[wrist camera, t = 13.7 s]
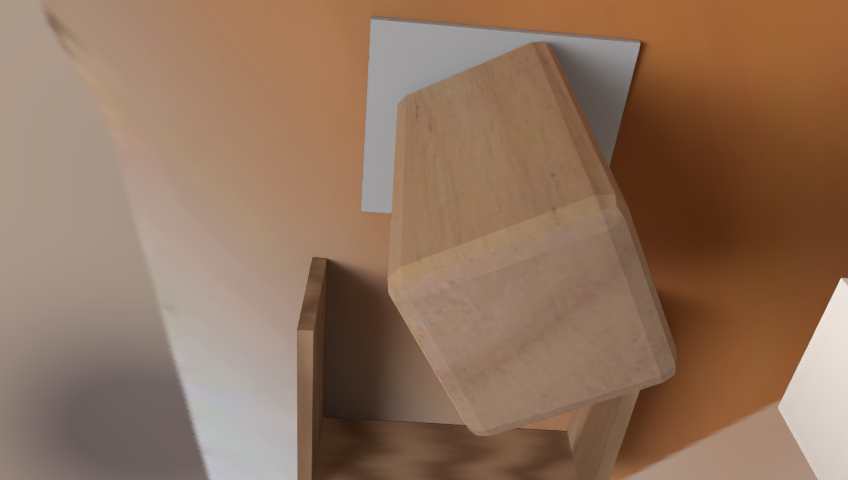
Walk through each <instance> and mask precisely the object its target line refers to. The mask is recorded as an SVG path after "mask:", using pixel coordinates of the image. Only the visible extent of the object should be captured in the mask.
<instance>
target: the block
mask: <svg viewBox="0 0 848 480" xmlns="http://www.w3.org/2000/svg"><path fill="white" fill-rule="evenodd" d="M388 293H389V295H390V297H391V299H392V300H393V302H394V304H395V306H396V307H397V309H398V311H399V312H400V314H401V316H402V317H403V319H404V321H405V323H406V324H407V326H408V328H409V329H410V331H411V333H412V334H413V336H414V338H415V340H416V341H417V343H418V345H419V346H420V348H421V350H422V352H423V353H424V355H425V357H426V358H427V360H428V362H429V363H430V365H431V367H432V369H433V370H434V372H435V374H436V375H437V377H438V379H439V380H440V382H441V384H442V386H443V387H444V389H445V391H446V392H447V394H448V396H449V398H450V399H451V401H452V403H453V404H454V406H455V408H456V409H457V411H458V413H459V415H460V416H461V418H462V420H463V421H464V423H465V424H466V426H467V427H468V428H469V430H470V431H471V432H473V433H474V434H476V435H477V436H491V435H495V434H498V433H501V432H504V431H508V430H511V429H514V428H517V427H521V426H524V425H527V424H530V423H534V422H537V421H540V420H543V419H547V418H550V417H553V416H556V415H560V414H563V413H566V412H569V411H573V410H576V409H579V408H582V407H586V406H589V405H592V404H595V403H599V402H602V401H605V400H608V399H612V398H615V397H618V396H621V395H625V394H628V393H631V392H634V391H638V390H641V389H644V388H647V387H651V386H654V385H657V384H660V383H664V382H665V381H666V380H668V379H669V378H671V377H672V376H673V375H675V370H676V362H677V354H678V352H677V349H676V347H675V344H674V341H673V338H672V335H671V332H670V329H669V326H668V323H667V320H666V317H665V314H664V311H663V308H662V305H661V302H660V299H659V296H658V293H657V290H656V287H655V284H654V281H653V279H652V276H651V273H650V270H649V267H648V264H647V261H646V258H645V255H644V252H643V249H642V246H641V243H640V240H639V237H638V234H637V231H636V228H635V225H634V222H633V219H632V216H631V214H630V211H629V208H628V205H627V203H626V201H625V199H624V197H623V195H622V193H621V191H620V188H619V186H618V184H617V182H616V180H615V178H614V176H613V174H612V172H611V169H610V167H609V165H608V163H607V161H606V159H605V157H604V155H603V153H602V151H601V148H600V146H599V144H598V142H597V140H596V138H595V136H594V134H593V132H592V130H591V127H590V125H589V123H588V121H587V119H586V117H585V115H584V113H583V111H582V109H581V106H580V104H579V102H578V100H577V98H576V96H575V94H574V92H573V90H572V87H571V85H570V83H569V81H568V79H567V77H566V75H565V73H564V71H563V69H562V66H561V64H560V62H559V60H558V58H557V56H556V54H555V52H554V50H553V49H552V48H551V47H550V46H549V45H548V44H547V43H546V42H531V43H529V44H526V45H524V46H522V47H519V48H517V49H515V50H512V51H510V52H508V53H505V54H503V55H500V56H498V57H496V58H493V59H491V60H489V61H486V62H484V63H482V64H479V65H477V66H475V67H472V68H470V69H467V70H465V71H463V72H460V73H458V74H456V75H453V76H451V77H449V78H446V79H444V80H442V81H439V82H437V83H434V84H432V85H430V86H427V87H425V88H423V89H420V90H418V91H416V92H413V93H411V94H409V95H406V96H405V97H404V98H403V99H402V100H401V101H400V102H399V103H398V107H397V124H396V141H395V159H394V176H393V193H392V211H391V228H390V245H389V262H388Z"/></svg>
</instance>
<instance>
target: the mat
mask: <svg viewBox="0 0 848 480" xmlns="http://www.w3.org/2000/svg"><path fill="white" fill-rule="evenodd" d="M531 42H546V43H547V44H548V45H549V46H550V47H551V48H552V49H553V50H554V52H555V54H556V56H557V58H558V60H559V62H560V64H561V66H562V69H563V71H564V73H565V75H566V77H567V79H568V81H569V83H570V85H571V87H572V90H573V92H574V94H575V96H576V98H577V100H578V102H579V104H580V106H581V109H582V111H583V113H584V115H585V117H586V119H587V121H588V123H589V125H590V127H591V130H592V132H593V134H594V136H595V138H596V140H597V142H598V144H599V146H600V148H601V151H602V153H603V155H604V157H605V159H606V161H607V163H608V165H609V166H610V162H611V159H612V155H613V151H614V147H615V143H616V139H617V135H618V131H619V127H620V123H621V119H622V115H623V111H624V107H625V103H626V99H627V96H628V92H629V88H630V84H631V80H632V76H633V72H634V68H635V64H636V60H637V56H638V52H639V48H640V44H641V43H640V41H639V40H634V39H623V38H612V37H600V36H589V35H578V34H567V33H555V32H544V31H533V30H522V29H510V28H499V27H488V26H477V25H465V24H454V23H443V22H432V21H420V20H409V19H398V18H387V17H375V16H372V17H371V30H370V50H369V69H368V88H367V107H366V126H365V146H364V165H363V184H362V203H361V211H366V212H379V213H391V211H392V193H393V176H394V159H395V141H396V124H397V107H398V103H399V102H400V101H401V100H402V99H403V98H404V97H405V96H406V95H409V94H411V93H413V92H416V91H418V90H420V89H423V88H425V87H427V86H430V85H432V84H434V83H437V82H439V81H442V80H444V79H446V78H449V77H451V76H453V75H456V74H458V73H460V72H463V71H465V70H467V69H470V68H472V67H475V66H477V65H479V64H482V63H484V62H486V61H489V60H491V59H493V58H496V57H498V56H500V55H503V54H505V53H508V52H510V51H512V50H515V49H517V48H519V47H522V46H524V45H526V44H529V43H531Z"/></svg>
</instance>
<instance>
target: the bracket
mask: <svg viewBox="0 0 848 480" xmlns="http://www.w3.org/2000/svg"><path fill="white" fill-rule="evenodd" d="M326 262H327V259H326V258H312V262H311V267H310V272H309V277H308V281H307V286H306V291H305V295H304V300H303V305H302V310H301V314H300V319H299V324H298V328H297V445H298V480H609V479H610V476H611V473H612V470H613V468H614V465H615V462H616V459H617V456H618V453H619V450H620V447H621V444H622V441H623V438H624V435H625V432H626V430H627V427H628V424H629V421H630V418H631V415H632V412H633V409H634V406H635V403H636V400H637V397H638V394H639V391H640V390H638V391H634V392H631V393H628V394H625V395H621V396H618V397H615V398H612V399H608V400H605V401H602V402H599V403H595V404H592V405H589V406H586V407H582V408H579V409H576V410H573V412H572V416H571V419H570V423H569V426H568V430H567V431H552V430H534V429H517V428H514V429H511V430H508V431H504V432H501V433H498V434H495V435H491V436H477V435H476V434H474V433H473V432H471V431H470V430H469V428H468V427H467V426H466V425H449V424H432V423H415V422H398V421H381V420H363V419H346V418H329V417H323V389H324V347H325V304H326Z"/></svg>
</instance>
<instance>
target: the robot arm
mask: <svg viewBox="0 0 848 480" xmlns="http://www.w3.org/2000/svg"><path fill="white" fill-rule="evenodd" d="M778 409H779V411H780V412H781V414H782V416H783V417H784V420H785V421H786V423H787V425H788V427H789V428H790V430H791V432H792V434H793V436H794V438H795V439H796V441H797V443H798V445H799V446H800V448H801V450H802V452H803V454H804V455H805V457H806V459H807V461H808V462H809V464H810V466H811V468H812V470H813V471H814V473H815V475H816V477H817V479H818V480H848V278H841V279H840V281H839V283H838V285H837V288H836V290H835V292H834V294H833V296H832V298H831V300H830V302H829V304H828V306H827V308H826V310H825V312H824V314H823V316H822V318H821V320H820V322H819V324H818V326H817V328H816V330H815V333H814V335H813V337H812V339H811V341H810V343H809V345H808V347H807V349H806V351H805V353H804V355H803V357H802V359H801V361H800V363H799V365H798V367H797V369H796V371H795V373H794V375H793V378H792V380H791V382H790V384H789V386H788V388H787V390H786V392H785V394H784V396H783V398H782V400H781V402H780V404H779V406H778Z"/></svg>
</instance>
